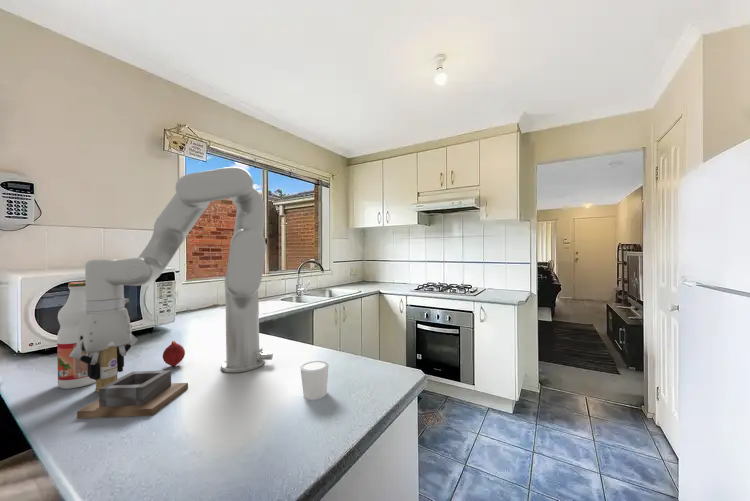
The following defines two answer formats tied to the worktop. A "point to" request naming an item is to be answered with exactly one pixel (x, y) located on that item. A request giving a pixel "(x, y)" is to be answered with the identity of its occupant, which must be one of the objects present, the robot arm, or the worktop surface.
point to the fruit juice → (71, 340)
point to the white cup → (314, 379)
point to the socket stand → (134, 395)
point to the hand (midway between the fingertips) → (106, 374)
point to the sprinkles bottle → (107, 366)
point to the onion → (173, 354)
